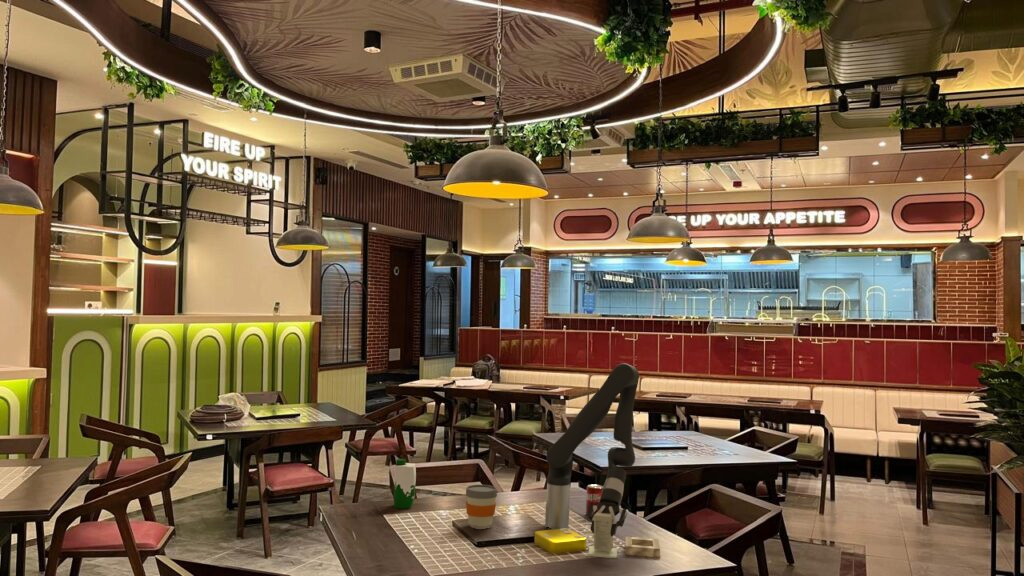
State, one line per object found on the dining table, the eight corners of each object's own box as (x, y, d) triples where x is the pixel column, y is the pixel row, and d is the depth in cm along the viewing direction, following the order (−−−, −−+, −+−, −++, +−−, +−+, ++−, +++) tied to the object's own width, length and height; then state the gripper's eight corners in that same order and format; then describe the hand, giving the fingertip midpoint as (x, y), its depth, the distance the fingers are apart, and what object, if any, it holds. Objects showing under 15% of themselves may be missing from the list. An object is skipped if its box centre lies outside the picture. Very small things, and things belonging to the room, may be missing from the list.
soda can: (602, 517, 303) (602, 488, 304) (585, 515, 305) (585, 487, 305) (603, 513, 310) (604, 485, 311) (586, 511, 312) (587, 483, 312)
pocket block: (625, 554, 253) (625, 546, 253) (625, 544, 265) (625, 536, 265) (659, 557, 251) (660, 549, 252) (658, 547, 263) (658, 539, 263)
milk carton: (395, 503, 314) (397, 457, 315) (415, 504, 314) (417, 458, 315) (391, 508, 305) (393, 461, 306) (412, 509, 305) (414, 462, 306)
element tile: (532, 543, 265) (532, 529, 265) (567, 539, 271) (567, 526, 271) (551, 555, 251) (552, 541, 251) (588, 550, 258) (588, 537, 258)
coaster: (588, 556, 250) (588, 554, 250) (589, 547, 260) (589, 545, 260) (616, 558, 249) (616, 556, 249) (617, 549, 259) (617, 548, 259)
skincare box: (613, 548, 256) (614, 513, 256) (610, 551, 252) (611, 516, 252) (595, 546, 258) (596, 511, 258) (592, 549, 254) (593, 514, 254)
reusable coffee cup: (458, 528, 279) (460, 489, 280) (472, 520, 291) (473, 483, 292) (488, 532, 275) (489, 493, 275) (500, 524, 286) (502, 486, 287)
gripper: (591, 485, 265) (580, 525, 254) (629, 489, 260) (620, 531, 248) (595, 496, 270) (585, 536, 259) (632, 501, 264) (623, 542, 253)
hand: (602, 533), depth 253 cm, fingers closed on skincare box, 6 cm apart
